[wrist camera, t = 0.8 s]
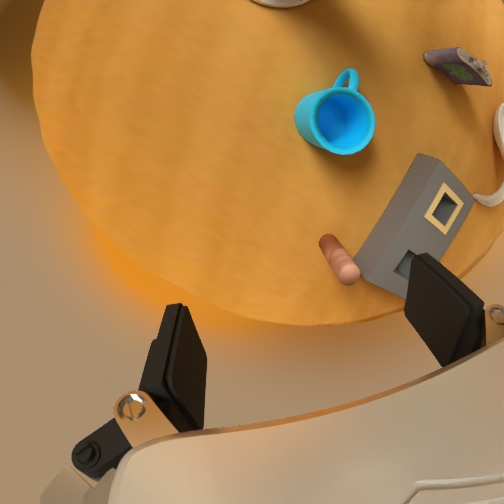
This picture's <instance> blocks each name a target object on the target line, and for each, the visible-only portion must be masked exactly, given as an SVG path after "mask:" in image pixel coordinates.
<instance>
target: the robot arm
mask: <svg viewBox="0 0 504 504" xmlns="http://www.w3.org/2000/svg"><path fill="white" fill-rule="evenodd" d="M252 1H255V2H257V3H259V4H262V5H266V6H271V7H280V8H287V7H295V6H299V5H302V4H304V3H307V2H308V1H310V0H300V1H299V0H252ZM483 306H484V302H483V301H482V300H481V299H480V298H479V297H478V296H477V295H476V294H475V293H474V292H473V291H471V290H470V289H469V288H468V287H467V286H466V285H465V284H464V283H463V282H462V281H460V280H459V279H458V278H457V277H456V276H455V275H454V274H452V273H451V272H450V271H449V270H448V269H447V268H445V267H444V266H443V265H442V264H441V263H439V262H438V261H437V260H436V259H435V258H433V257H432V256H431V255H430V254H428V253H422V254H418V255H415V256H414V258H413V259H412V261H411V265H410V274H409V282H408V289H407V296H406V302H405V308H404V312H405V316H406V318H407V319H408V320H409V322H410V323H411V324H412V326H413V327H414V328H415V330H416V331H417V332H418V334H419V335H420V337H421V338H422V339H423V341H424V342H425V343H426V345H427V346H428V348H429V349H430V350H431V352H432V353H433V355H434V356H435V357H436V359H437V361H438V362H439V363H440V365H441V366H442V367H443V368H441V369H439V370H436V371H434V372H432V373H430V374H427V375H425V376H423V377H420V378H418V379H416V380H413V381H411V382H408V383H406V384H403V385H400V386H398V387H395V388H392V389H390V390H387V391H384V392H381V393H378V394H375V395H372V396H369V397H366V398H363V399H360V400H357V401H354V402H350V403H346V404H343V405H339V406H335V407H332V408H328V409H324V410H320V411H316V412H312V413H307V414H303V415H298V416H293V417H288V418H284V419H277V420H271V421H265V422H259V423H253V424H246V425H239V426H230V427H222V428H212V429H204V430H202V429H203V427H204V407H205V388H206V371H207V356H206V352H205V350H204V347H203V345H202V343H201V340H200V338H199V335H198V333H197V330H196V327H195V325H194V322H193V320H192V317H191V314H190V312H189V309H188V307H187V306H183V305H182V304H181V303H178V304H171V305H167V306H166V309H165V312H164V316H163V319H162V323H161V326H160V329H159V333H158V336H157V339H154V340H153V341H152V343H151V346H150V349H149V353H148V356H147V360H146V363H145V367H144V371H143V374H142V378H141V382H140V386H139V389H138V391H136V390H135V391H129V392H127V393H125V394H123V395H122V396H120V397H119V398H118V399H117V401H116V402H115V404H114V407H113V414H114V417H115V418H113V419H112V420H110V421H109V422H108V423H106V424H105V425H103V426H102V427H100V428H99V429H98V430H96V431H95V432H93V433H92V434H91V435H89V436H87V437H86V438H84V439H83V440H81V441H80V442H79V443H78V444H77V445H76V446H75V448H74V449H73V451H72V462H73V463H72V464H71V465H70V466H69V465H68V464H66V465H65V467H64V468H63V469H62V470H61V471H60V473H59V474H58V475H57V476H56V477H55V478H54V480H53V481H52V482H51V483H50V484H49V486H48V487H47V488H46V489H45V490H44V492H43V493H42V495H41V500H40V501H41V504H504V306H502V305H498V304H493V305H490V306H488V307H487V308H486V310H484V309H483Z"/></svg>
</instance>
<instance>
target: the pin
mask: <svg viewBox="0 0 504 504" xmlns="http://www.w3.org/2000/svg"><path fill="white" fill-rule="evenodd" d="M319 247H320V248H321V250H322V252H323V253H324V255H325V257H326V258H327V260H328V262H329V263H330V265H331V267H332V268H333V270H334V272H335V273H336V275H337V277H338V279H339V280H340V282H341V283H342V284H344V285H351V284H353V283H355V282H356V281H357V280H358V279H359V277H360V270H359V268H358V267H357V265H356V264H355V263H354V261H353V260H352V259H351V257H350V256H349V255H348V253H347V252H346V251H345V249H344V248H343V247H342V245H341V244H340V243H339V241H338V240H337V239H336V237H335V236H334V235H331V234H327V235H324V236H323V237H322V238H321V239H320V241H319Z"/></svg>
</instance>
